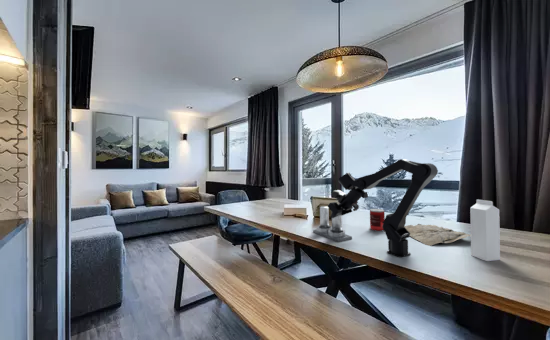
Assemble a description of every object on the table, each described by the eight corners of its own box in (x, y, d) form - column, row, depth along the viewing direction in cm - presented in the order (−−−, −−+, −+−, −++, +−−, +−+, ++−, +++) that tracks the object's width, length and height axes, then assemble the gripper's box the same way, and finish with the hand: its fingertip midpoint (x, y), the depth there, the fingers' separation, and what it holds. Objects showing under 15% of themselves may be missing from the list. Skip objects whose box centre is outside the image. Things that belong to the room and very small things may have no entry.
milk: (483, 254, 93) (482, 198, 93) (500, 260, 87) (499, 200, 87) (470, 255, 92) (469, 199, 92) (486, 261, 86) (485, 201, 86)
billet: (343, 230, 120) (342, 204, 120) (338, 232, 116) (337, 205, 116) (335, 228, 123) (334, 203, 123) (330, 230, 120) (329, 205, 120)
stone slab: (485, 249, 101) (485, 237, 101) (418, 248, 105) (417, 237, 105) (442, 228, 134) (442, 219, 134) (392, 228, 138) (392, 219, 138)
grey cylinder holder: (352, 239, 117) (351, 210, 117) (338, 242, 113) (337, 212, 112) (326, 229, 135) (325, 205, 134) (313, 232, 130) (312, 206, 130)
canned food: (381, 227, 137) (381, 208, 137) (387, 231, 129) (386, 211, 129) (368, 227, 138) (368, 208, 138) (372, 231, 130) (372, 211, 130)
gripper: (352, 183, 123) (335, 202, 131) (330, 186, 111) (313, 207, 119) (367, 199, 116) (348, 218, 125) (345, 204, 105) (326, 225, 113)
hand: (334, 216), depth 121 cm, fingers closed on billet, 5 cm apart
